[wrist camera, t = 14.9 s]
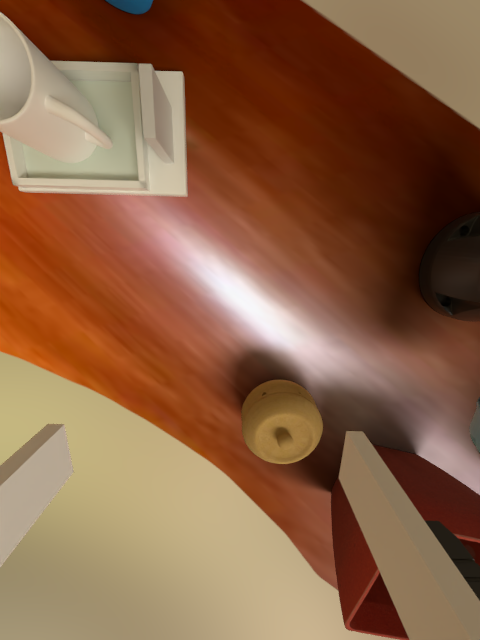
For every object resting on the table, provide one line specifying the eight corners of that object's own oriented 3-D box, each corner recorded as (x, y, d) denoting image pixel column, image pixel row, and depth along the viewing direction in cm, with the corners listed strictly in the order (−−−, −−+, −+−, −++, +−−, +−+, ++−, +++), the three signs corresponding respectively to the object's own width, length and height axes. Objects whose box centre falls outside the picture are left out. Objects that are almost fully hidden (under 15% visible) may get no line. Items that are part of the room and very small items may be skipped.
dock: (184, 77, 29) (164, 14, 22) (187, 196, 33) (171, 179, 25) (2, 72, 29) (-82, 7, 22) (25, 192, 33) (-41, 173, 25)
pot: (324, 390, 41) (349, 432, 31) (285, 440, 43) (298, 493, 34) (264, 357, 39) (272, 391, 29) (228, 411, 42) (225, 458, 32)
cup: (42, 72, 28) (-63, -24, 19) (139, 123, 30) (89, 59, 20) (26, 145, 30) (-75, 94, 21) (118, 190, 32) (63, 162, 22)
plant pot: (307, 502, 47) (342, 633, 31) (341, 420, 42) (404, 525, 26) (398, 520, 48) (479, 655, 32) (442, 442, 43) (563, 556, 27)
